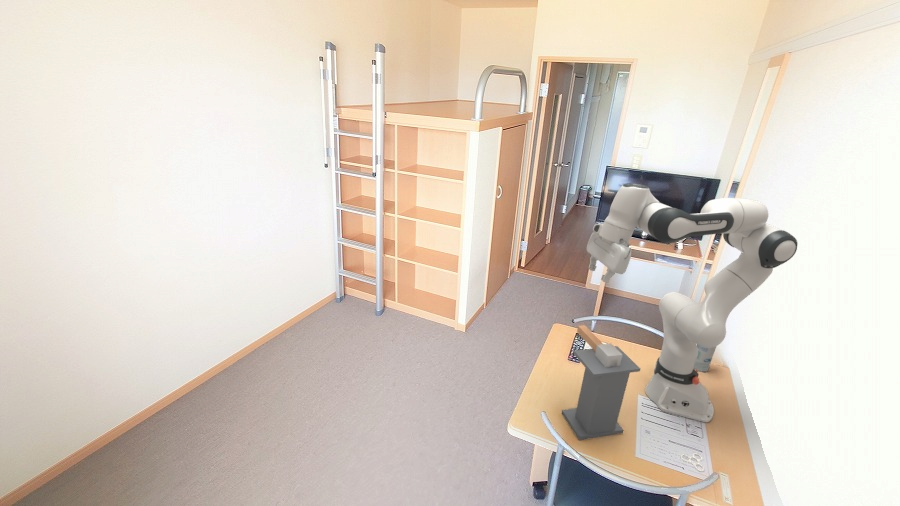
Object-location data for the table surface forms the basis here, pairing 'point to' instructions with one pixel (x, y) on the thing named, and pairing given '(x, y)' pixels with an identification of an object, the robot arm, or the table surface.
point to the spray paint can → (704, 358)
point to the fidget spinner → (694, 462)
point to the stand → (599, 396)
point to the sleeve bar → (601, 348)
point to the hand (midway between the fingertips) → (597, 275)
